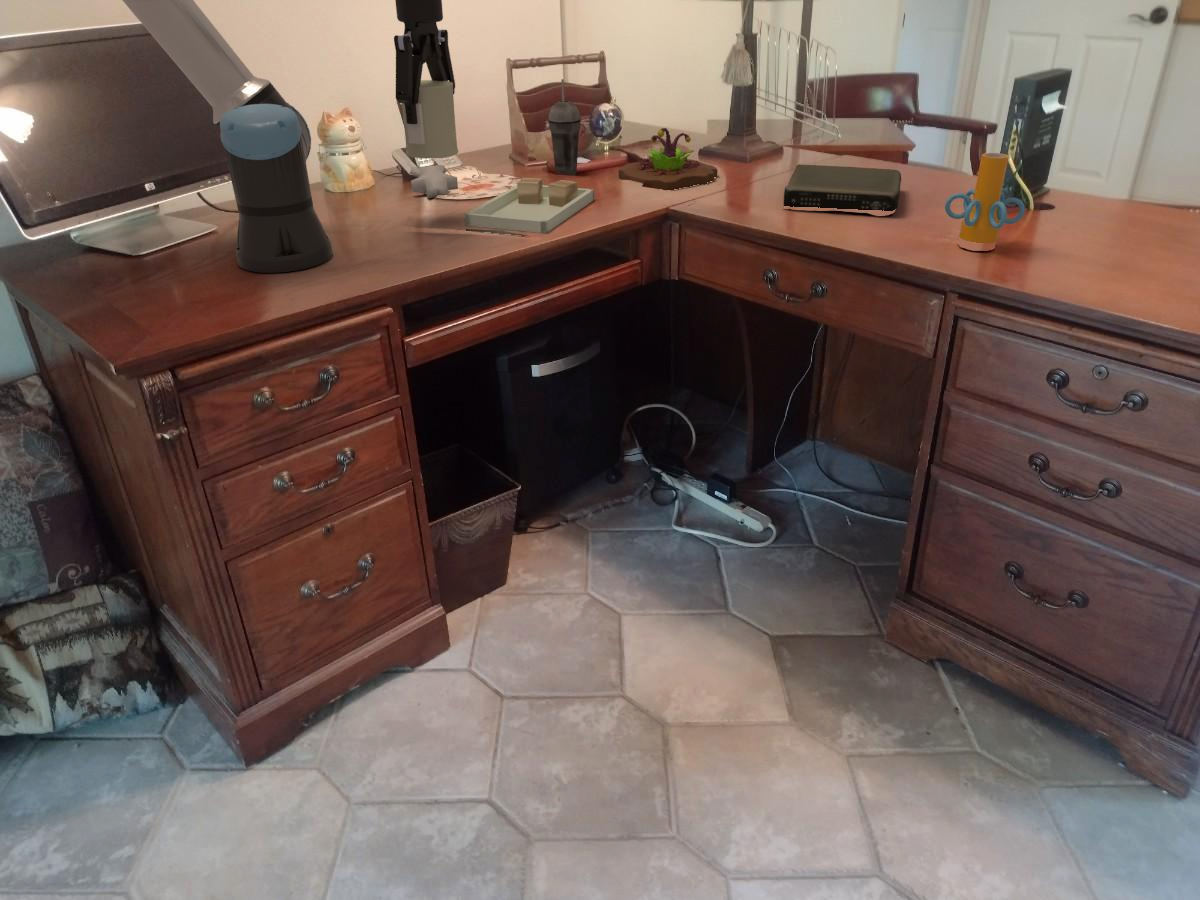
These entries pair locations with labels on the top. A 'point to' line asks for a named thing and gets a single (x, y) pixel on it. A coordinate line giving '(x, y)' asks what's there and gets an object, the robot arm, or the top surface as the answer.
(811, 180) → the network switch
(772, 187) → the top surface
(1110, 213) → the top surface
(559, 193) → the block
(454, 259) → the top surface
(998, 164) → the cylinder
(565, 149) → the beverage cup
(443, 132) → the can
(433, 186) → the grey lobed piece
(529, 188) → the block
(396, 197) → the top surface
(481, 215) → the tray
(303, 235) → the robot arm
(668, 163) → the plant
